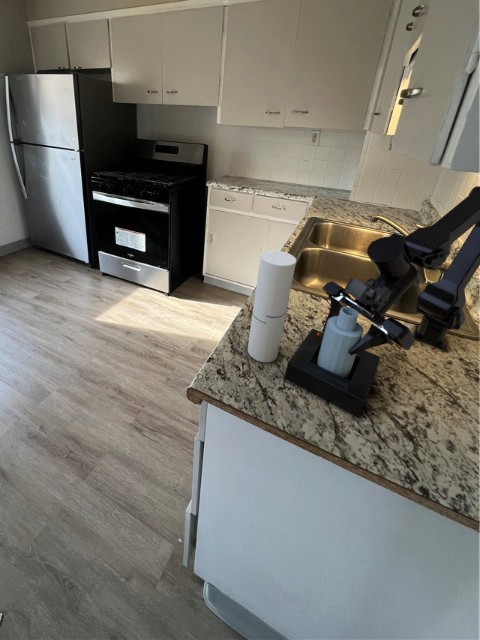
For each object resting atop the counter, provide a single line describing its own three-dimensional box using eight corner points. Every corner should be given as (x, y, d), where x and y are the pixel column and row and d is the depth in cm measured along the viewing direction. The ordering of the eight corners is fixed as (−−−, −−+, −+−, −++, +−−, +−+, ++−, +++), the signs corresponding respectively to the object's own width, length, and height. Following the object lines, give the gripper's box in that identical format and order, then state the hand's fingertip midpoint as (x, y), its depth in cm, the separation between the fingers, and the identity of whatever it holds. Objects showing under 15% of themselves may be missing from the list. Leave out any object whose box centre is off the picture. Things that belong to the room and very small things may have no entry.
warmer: (309, 342, 78) (313, 326, 76) (375, 372, 70) (381, 354, 68) (284, 378, 68) (288, 360, 66) (359, 418, 59) (366, 399, 57)
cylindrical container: (278, 364, 71) (297, 267, 61) (247, 359, 73) (260, 263, 62) (277, 343, 78) (294, 252, 67) (248, 339, 79) (260, 248, 68)
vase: (322, 351, 72) (336, 298, 66) (353, 365, 68) (371, 310, 62) (312, 368, 67) (327, 312, 61) (345, 383, 64) (363, 326, 57)
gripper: (338, 247, 67) (288, 301, 67) (426, 290, 51) (361, 360, 52) (355, 273, 73) (309, 322, 74) (439, 319, 58) (380, 380, 58)
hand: (335, 342), depth 64 cm, fingers closed on vase, 7 cm apart
